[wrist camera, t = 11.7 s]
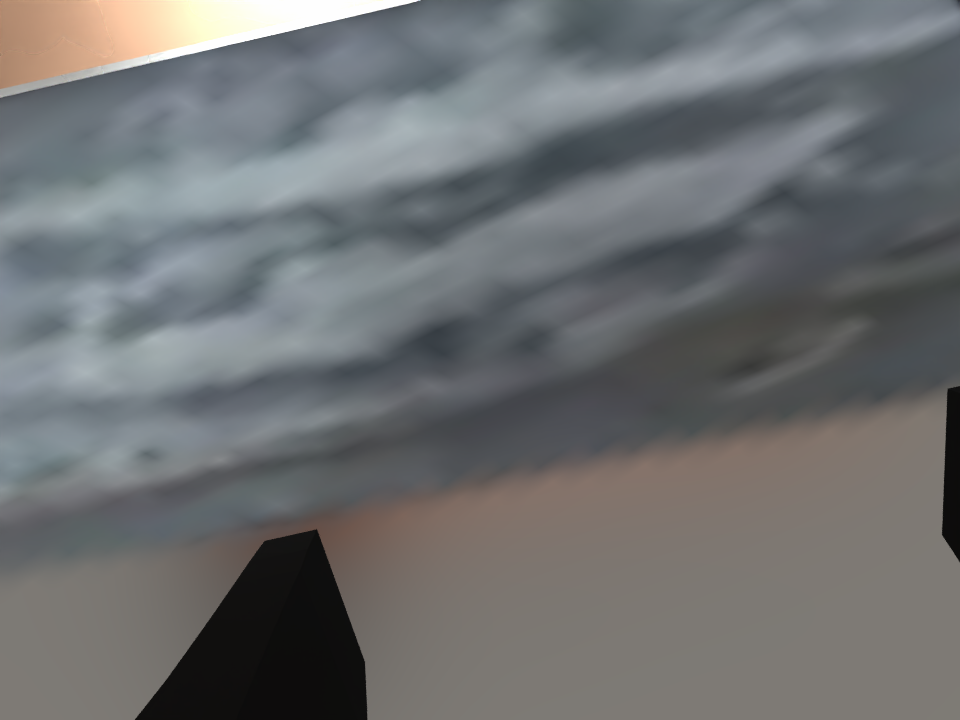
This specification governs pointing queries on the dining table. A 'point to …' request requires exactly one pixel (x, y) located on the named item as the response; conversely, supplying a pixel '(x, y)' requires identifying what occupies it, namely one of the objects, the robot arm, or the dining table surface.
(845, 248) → the dining table surface
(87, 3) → the orange-brown socket block
